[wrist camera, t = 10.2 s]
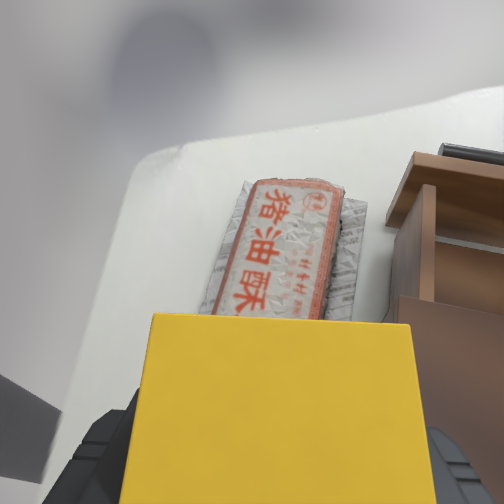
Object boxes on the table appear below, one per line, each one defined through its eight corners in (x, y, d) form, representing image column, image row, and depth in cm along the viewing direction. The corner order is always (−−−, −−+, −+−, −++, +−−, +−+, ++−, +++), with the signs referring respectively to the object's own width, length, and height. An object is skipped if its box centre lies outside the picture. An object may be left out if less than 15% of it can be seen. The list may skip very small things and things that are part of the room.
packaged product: (345, 437, 22) (155, 387, 23) (330, 450, 26) (170, 407, 27) (379, 171, 31) (243, 146, 32) (364, 213, 35) (244, 189, 36)
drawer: (389, 174, 36) (416, 107, 30) (534, 199, 35) (591, 134, 29) (372, 370, 28) (404, 329, 22) (563, 413, 26) (652, 382, 20)
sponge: (183, 596, 13) (80, 708, 5) (202, 416, 15) (152, 311, 8) (338, 606, 13) (474, 736, 5) (330, 422, 15) (410, 322, 8)
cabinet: (361, 352, 29) (399, 294, 22) (562, 396, 28) (674, 350, 20) (334, 606, 22) (376, 648, 15) (601, 684, 21) (794, 772, 13)
